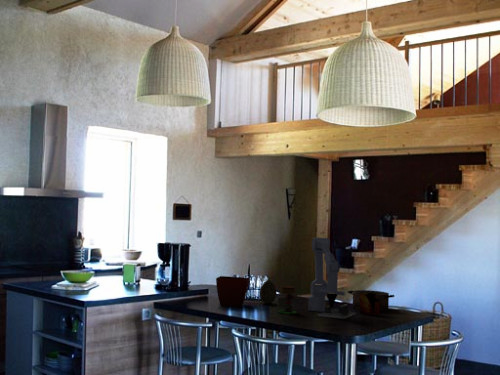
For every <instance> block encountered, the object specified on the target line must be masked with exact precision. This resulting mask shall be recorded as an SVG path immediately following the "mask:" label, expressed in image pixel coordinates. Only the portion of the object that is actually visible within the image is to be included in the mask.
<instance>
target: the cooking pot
mask: <svg viewBox="0 0 500 375" xmlns="http://www.w3.org/2000/svg"><path fill="white" fill-rule="evenodd" d="M347 293H348V294H350V295H352V309H353V310H356V311H359V306H360V293H374V294H376V299H379V313H383V312H387V311H389V305H390V303H389V302H390V300H389V299H390V298H394V297H395V295H394V294H390V293H389V292H386V291H379V290H368V289H367V290H366V289H365V290H364V289H358V290H356V289H355V290H347ZM376 311H377V302H376Z"/></svg>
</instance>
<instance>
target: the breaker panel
mask: <svg viewBox="0 0 500 375" xmlns="http://www.w3.org/2000/svg"><path fill="white" fill-rule="evenodd" d="M356 315H357V312H356V311H350V309H348V312H346V311H345V313H344V314H343V313H339V308H334V309H331V313H325V311H323V312H319V313H318V314H317V316H318V317H325V318H334V319H342V320H346V319H348V318H350V317H354V316H356Z"/></svg>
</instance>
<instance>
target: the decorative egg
mask: <svg viewBox="0 0 500 375" xmlns="http://www.w3.org/2000/svg"><path fill="white" fill-rule="evenodd" d="M259 297H260V300H261V301H262V302H263V303H265V304H266V305H267V304H269V305H270V304H272V303H273V302H275V300H276V299H277V286H276V285H275V283H274V282H273V281H272V280H270V279H266V280H265V281H264V282H263V283H262V285H261V287H260V289H259Z"/></svg>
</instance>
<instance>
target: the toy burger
mask: <svg viewBox="0 0 500 375" xmlns="http://www.w3.org/2000/svg"><path fill="white" fill-rule="evenodd" d="M295 290H296V288H295V286H288V285H287V286H286V285H285V286H284V285H283V286H282V288H281V293H282V294H286V295H285V297H278V298H277V309H279V310H278V313H280V314H285V315H294V314H297V313H298V312H297V311H296V310H292V308H293V306H292V305H293V301H292V300H295V296H294V295H293V294H295V293H296V292H295ZM280 308H285V309H283V310H280Z"/></svg>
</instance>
